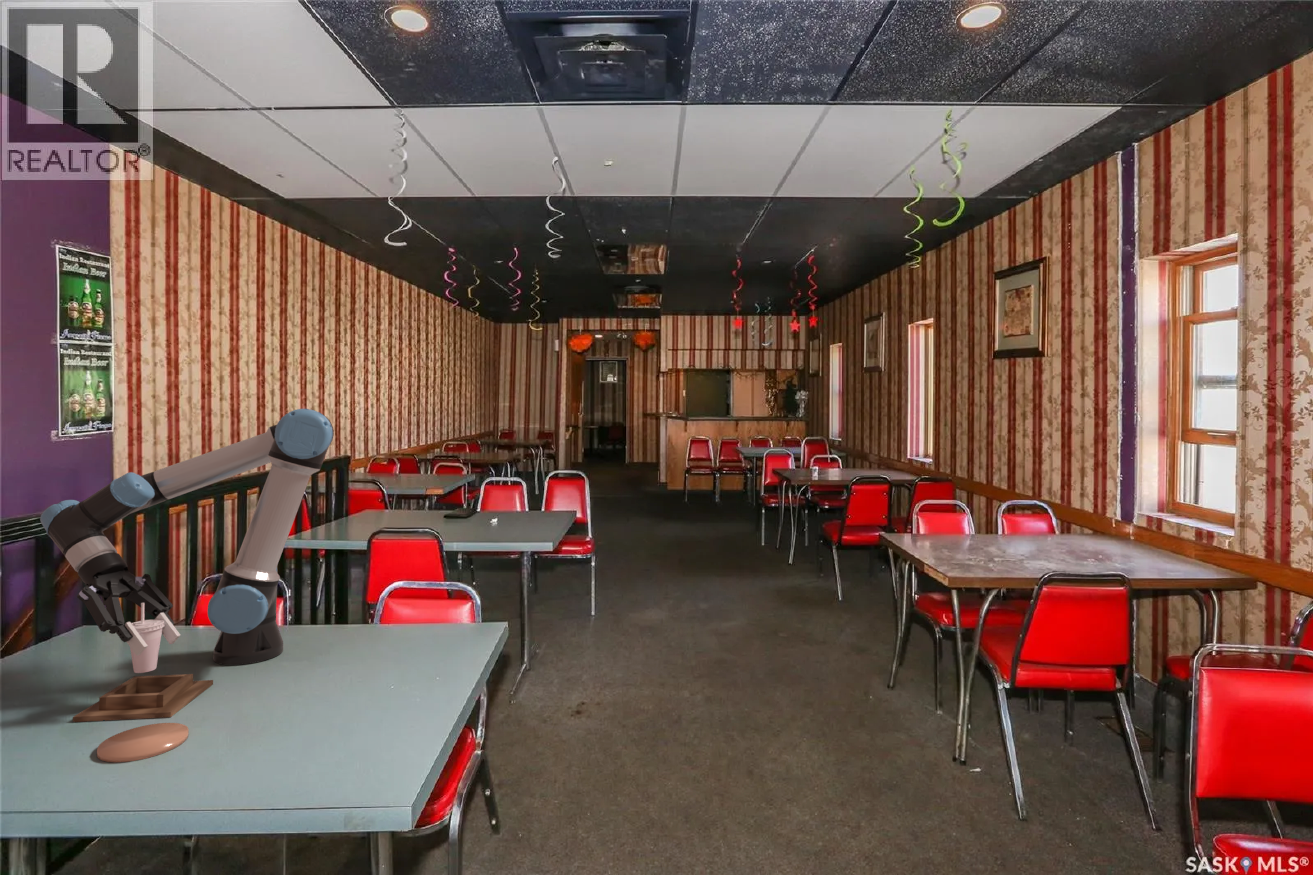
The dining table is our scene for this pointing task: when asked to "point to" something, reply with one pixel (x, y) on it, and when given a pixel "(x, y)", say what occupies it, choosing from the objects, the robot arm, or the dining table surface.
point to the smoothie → (152, 638)
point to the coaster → (142, 742)
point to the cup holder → (145, 698)
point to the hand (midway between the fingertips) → (159, 645)
